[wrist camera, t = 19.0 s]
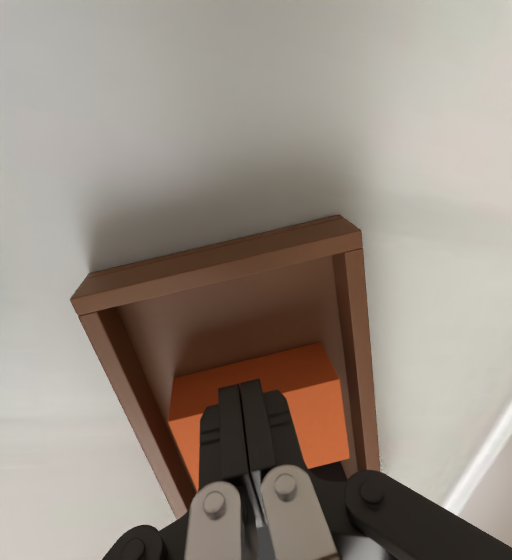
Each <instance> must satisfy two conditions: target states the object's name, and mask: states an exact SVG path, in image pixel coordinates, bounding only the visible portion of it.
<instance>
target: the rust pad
mask: <svg viewBox="0 0 512 560" xmlns="http://www.w3.org/2000/svg"><path fill="white" fill-rule="evenodd" d="M258 378H260V381H261V385H262V389H263V393H264V392H268V391H273V390H277V389H278V390H279V391H280V392H281V393H282V394H283V395H284V396H285V398H286V399H287V403H288V406H289V410H290V413H291V417H292V420H293V424H294V427H295V431H296V434H297V438H298V441H299V445H300V448H301V452H302V455H303V459H304V462H305V464H306V466H307V468H308V469H310V468H314V467H318V466H322V465H326V464H329V463H333V462H337V461H341V460H345V459H349V458H350V454H349V446H348V438H347V431H346V423H345V416H344V408H343V400H342V393H341V385H340V379H339V377H338V375H337V373H336V371H335V369H334V367H333V365H332V363H331V361H330V359H329V357H328V355H327V353H326V351H325V349H324V347H323V345H322V343H321V342H319V343H315V344H311V345H307V346H302V347H298V348H294V349H290V350H286V351H282V352H278V353H274V354H270V355H266V356H262V357H258V358H254V359H250V360H246V361H242V362H238V363H234V364H230V365H225V366H221V367H217V368H213V369H209V370H205V371H201V372H197V373H193V374H189V375H185V376H181V377H177V378H173V384H172V392H171V400H170V408H169V416H168V424H169V426H170V428H171V431H172V433H173V435H174V438H175V440H176V442H177V445H178V447H179V449H180V452H181V454H182V456H183V459H184V461H185V464H186V466H187V468H188V471H189V473H190V475H191V478H192V480H193V482H194V485H195V487H196V489H197V492H198V487H199V446H200V419H201V417H202V415H203V413H204V411H205V408H206V407H208V406H212V405H216V404H219V402H218V388H221V387H225V386H229V385H234V384H239V386H240V383H241V382H246V381H250V380H254V379H258Z"/></svg>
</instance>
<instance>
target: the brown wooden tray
mask: <svg viewBox="0 0 512 560" xmlns="http://www.w3.org/2000/svg"><path fill="white" fill-rule="evenodd" d="M362 247H363V246H362V233H361V230H360V229H359V228H357V227H356V226H355V225H353V224H352V223H351V222H349V221H348V220H347V219H345V218H344V217H343V216H341V215H336V216H332V217H328V218H323V219H319V220H315V221H311V222H306V223H302V224H298V225H294V226H289V227H285V228H281V229H277V230H272V231H268V232H264V233H260V234H256V235H251V236H247V237H243V238H239V239H234V240H230V241H226V242H222V243H217V244H213V245H209V246H205V247H200V248H196V249H192V250H188V251H183V252H179V253H175V254H171V255H166V256H162V257H158V258H154V259H149V260H145V261H141V262H137V263H132V264H128V265H124V266H120V267H115V268H111V269H107V270H103V271H98V272H94V273H90V274H88V276H87V277H86V278H85V279H84V281H83V282H82V284H81V285H80V286H79V288H78V289H77V290H76V292H75V293H74V294H73V296H72V297H71V298H70V301H71V303H72V305H73V307H74V309H75V311H76V313H77V315H79V316H78V317H79V319H80V321H81V323H82V326H83V328H84V330H85V332H86V334H87V336H88V338H89V340H90V342H91V344H92V346H93V348H94V350H95V352H96V354H97V356H98V358H99V360H100V363H101V365H102V367H103V369H104V371H105V373H106V375H107V377H108V379H109V381H110V383H111V385H112V387H113V389H114V391H115V393H116V395H117V397H118V399H119V402H120V404H121V406H122V408H123V410H124V412H125V414H126V416H127V418H128V420H129V422H130V424H131V426H132V428H133V430H134V432H135V434H136V436H137V439H138V441H139V443H140V445H141V447H142V449H143V451H144V453H145V455H146V457H147V459H148V461H149V463H150V465H151V467H152V469H153V471H154V473H155V476H156V478H157V480H158V482H159V484H160V486H161V488H162V490H163V492H164V494H165V496H166V498H167V500H168V502H169V504H170V506H171V508H172V510H173V513H174V515H175V517H176V519H177V520H178V519H179V518H181V517H182V516H183V515H184V514H185V513H186V512H187V511H188V510H189V509H190V505H191V503H192V500H193V498H194V497H195V495H196V494H197V493H198V492H197V489H196V487H195V485H194V482H193V480H192V478H191V475H190V473H189V471H188V468H187V466H186V464H185V461H184V459H183V456H182V454H181V452H180V449H179V447H178V445H177V442H176V440H175V438H174V435H173V433H172V431H171V428H170V426H169V424H168V416H169V408H170V400H171V392H172V384H173V378H177V377H181V376H185V375H189V374H193V373H197V372H201V371H205V370H209V369H213V368H217V367H221V366H225V365H230V364H234V363H238V362H242V361H246V360H250V359H254V358H258V357H262V356H266V355H270V354H274V353H278V352H282V351H286V350H290V349H294V348H298V347H302V346H307V345H311V344H315V343H319V342H321V343H322V345H323V347H324V349H325V351H326V353H327V355H328V357H329V359H330V361H331V363H332V365H333V367H334V369H335V371H336V373H337V375H338V377H339V379H340V385H341V393H342V400H343V408H344V416H345V423H346V431H347V438H348V446H349V454H350V458H349V459H345V460H341V464H342V467H343V469H344V472H345V474H346V477H347V479H349V478H350V476H352V475H353V474H354V473H356V472H359V471H362V470H375V471H379V472H380V461H379V448H378V435H377V423H376V410H375V397H374V384H373V372H372V359H371V346H370V333H369V321H368V308H367V295H366V282H365V270H364V257H363V248H362Z"/></svg>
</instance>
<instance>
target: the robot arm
mask: <svg viewBox="0 0 512 560" xmlns="http://www.w3.org/2000/svg"><path fill="white" fill-rule="evenodd" d="M218 402H219V404H216V405H212V406H208V407H206V408H205V411H204V413H203V415H202V417H201V419H200V446H199V487H198V493H197V494H196V495H195V497H194V498H193V500H192V503H191V505H190V509H189V510H188V511H187V512H186V513H185V514H184V515H183V516H182V517H181V518H179V519H178V520H176V521H175V522H173V523H172V524H170V525H168V526H167V527H165V528H163V529H162V530H160V531H158V530H157V529H156V528H155V527H153V526H150V525H140V526H137V527H134V528H132V529H130V530H129V531H127V532H126V533H124V534H123V535H122V536H121V537H120V538H119V539H118V540H117V541H116V543H115V544H114V545H113V546H112V548H111V549H110V550H109V551H108V553H107V554H106V555H105V556H104V558H103V559H102V560H260V555H259V545H258V537H257V528H259V527H263V526H264V519H263V514H264V518H265V521H266V524H267V525H268V529H269V533H270V538H271V542H272V547H273V551H274V555H275V560H512V548H511V547H509V546H508V545H506V544H504V543H503V542H501V541H499V540H498V539H496V538H494V537H492V536H491V535H489V534H487V533H486V532H483V531H482V530H480V529H479V528H477V527H475V526H473V525H472V524H470V523H468V522H467V521H465V520H463V519H461V518H460V517H458V516H456V515H454V514H453V513H451V512H449V511H448V510H446V509H444V508H442V507H441V506H439V505H437V504H436V503H434V502H432V501H430V500H429V499H427V498H425V497H423V496H422V495H420V494H418V493H417V492H415V491H413V490H411V489H410V488H408V487H406V486H404V485H403V484H401V483H399V482H398V481H396V480H394V479H392V478H391V477H389V476H387V475H386V474H384V473H381V472H379V471H375V470H362V471H359V472H356V473H354V474H353V475H352V476H350V478H349V479H348V480H347V482H341V481H330V480H325V479H322V478H320V477H318V476H316V475H315V474H313V473H312V472H311V471H310V470H309V469H308V468H307V466H306V464H305V462H304V459H303V455H302V452H301V448H300V445H299V441H298V438H297V434H296V431H295V427H294V424H293V420H292V417H291V413H290V410H289V406H288V403H287V399H286V398H285V396H284V395H283V394H282V393H281V392H280V391H279V390H278V389H277V390H273V391H268V392H264V393H263V389H262V385H261V381H260V378H258V379H254V380H250V381H246V382H241V383H240V386H239V384H234V385H229V386H225V387H221V388H218Z"/></svg>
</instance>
